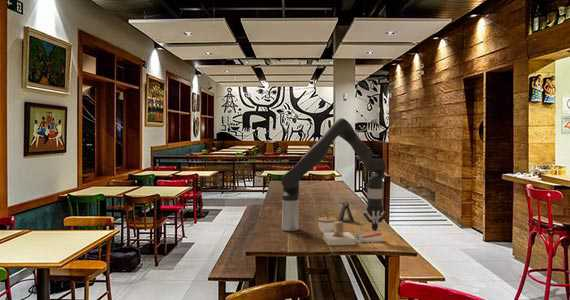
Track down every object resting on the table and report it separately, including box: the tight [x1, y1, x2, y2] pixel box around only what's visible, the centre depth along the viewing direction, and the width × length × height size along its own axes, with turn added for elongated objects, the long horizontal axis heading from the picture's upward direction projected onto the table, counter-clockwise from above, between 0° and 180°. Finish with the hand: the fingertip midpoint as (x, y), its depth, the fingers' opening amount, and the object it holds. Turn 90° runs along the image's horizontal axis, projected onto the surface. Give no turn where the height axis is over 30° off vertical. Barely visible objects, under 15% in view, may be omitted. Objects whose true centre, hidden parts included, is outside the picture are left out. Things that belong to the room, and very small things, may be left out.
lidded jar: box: [317, 215, 338, 234], centre depth 243 cm, size 11×11×9 cm
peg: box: [333, 220, 344, 237], centre depth 223 cm, size 4×4×10 cm
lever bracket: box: [354, 232, 385, 244], centre depth 224 cm, size 14×7×3 cm, turn 95°
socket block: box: [322, 231, 357, 246], centre depth 223 cm, size 14×14×3 cm
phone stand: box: [337, 200, 355, 223], centre depth 274 cm, size 9×6×12 cm, turn 95°
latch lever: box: [358, 231, 382, 238], centre depth 224 cm, size 12×3×2 cm, turn 95°
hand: (374, 230), depth 224 cm, fingers closed
